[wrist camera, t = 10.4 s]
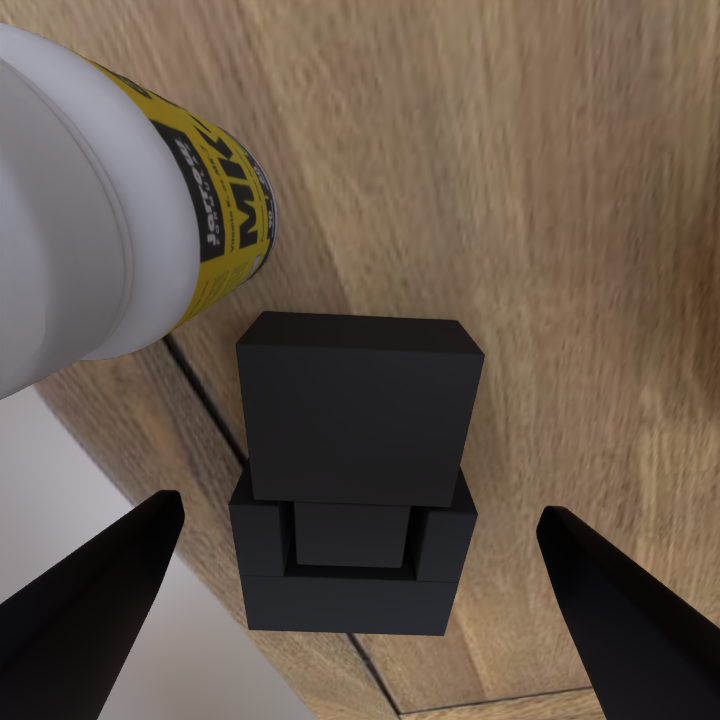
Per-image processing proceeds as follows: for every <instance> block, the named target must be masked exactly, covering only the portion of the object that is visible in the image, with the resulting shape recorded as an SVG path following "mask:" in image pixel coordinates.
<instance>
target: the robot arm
mask: <svg viewBox="0 0 720 720" xmlns="http://www.w3.org/2000/svg"><path fill="white" fill-rule="evenodd" d="M184 520H185V512H184V508H183V504H182V500H181V496H180V493H179V492H178V491H176V490H160V491H158V492H156V493H155V494H154V495H152V496H151V497H149V498H148V499H147V500H145V501H144V502H142V503H141V504H140V505H138V506H137V507H135V508H134V509H133V510H131V511H130V512H129V513H127V514H126V515H124V516H123V517H122V518H120V519H119V520H117V521H116V522H114V523H113V524H112V525H110V526H109V527H108V528H106V529H105V530H103V531H102V532H100V533H99V534H98V535H96V536H95V537H94V538H92V539H91V540H89V541H88V542H87V543H85V544H84V545H82V546H81V547H80V548H78V549H77V550H75V551H74V552H73V553H71V554H70V555H68V556H67V557H66V558H64V559H63V560H61V561H60V562H59V563H57V564H56V565H55V566H53V567H52V568H50V569H49V570H47V571H46V572H45V573H43V574H42V575H41V576H39V577H38V578H36V579H35V580H33V581H32V582H31V583H29V584H28V585H26V586H25V587H24V588H22V589H21V590H19V591H18V592H17V593H15V594H14V595H13V596H11V597H10V598H8V599H7V600H5V601H4V602H3V603H1V604H0V720H97V719H98V716H99V714H100V712H101V710H102V708H103V706H104V704H105V702H106V700H107V698H108V696H109V694H110V691H111V689H112V687H113V685H114V683H115V681H116V679H117V677H118V675H119V673H120V671H121V669H122V667H123V665H124V662H125V660H126V658H127V656H128V654H129V652H130V650H131V648H132V646H133V644H134V642H135V639H136V637H137V635H138V633H139V631H140V629H141V627H142V625H143V623H144V621H145V619H146V617H147V615H148V612H149V610H150V608H151V606H152V604H153V602H154V600H155V598H156V595H157V593H158V591H159V588H160V586H161V583H162V581H163V578H164V576H165V572H166V570H167V567H168V565H169V562H170V559H171V557H172V554H173V551H174V549H175V546H176V543H177V540H178V538H179V535H180V532H181V530H182V527H183V524H184ZM536 535H537V540H538V543H539V546H540V549H541V552H542V555H543V559H544V562H545V565H546V568H547V571H548V574H549V577H550V581H551V584H552V587H553V590H554V593H555V596H556V599H557V602H558V605H559V607H560V610H561V612H562V615H563V617H564V620H565V622H566V624H567V627H568V629H569V632H570V634H571V636H572V639H573V641H574V643H575V646H576V648H577V651H578V653H579V655H580V658H581V660H582V662H583V665H584V667H585V670H586V672H587V674H588V677H589V679H590V681H591V684H592V686H593V688H594V691H595V693H596V696H597V698H598V700H599V703H600V705H601V707H602V710H603V712H604V715H605V717H606V719H607V720H720V628H718V627H717V626H716V625H714V624H713V623H712V622H711V621H709V620H708V619H707V618H706V617H704V616H703V615H702V614H700V613H699V612H698V611H697V610H695V609H694V608H693V607H692V606H690V605H689V604H688V603H686V602H685V601H684V600H683V599H681V598H680V597H679V596H678V595H676V594H675V593H674V592H672V591H671V590H670V589H669V588H667V587H666V586H665V585H664V584H662V583H661V582H660V581H658V580H657V579H656V578H655V577H653V576H652V575H651V574H650V573H648V572H647V571H646V570H644V569H643V568H642V567H641V566H639V565H638V564H637V563H636V562H634V561H633V560H632V559H630V558H629V557H628V556H627V555H625V554H624V553H623V552H622V551H620V550H619V549H618V548H616V547H615V546H614V545H613V544H611V543H610V542H609V541H608V540H606V539H605V538H604V537H602V536H601V535H600V534H599V533H597V532H596V531H595V530H594V529H592V528H591V527H590V526H588V525H587V524H586V523H585V522H583V521H582V520H581V519H580V518H578V517H577V516H576V515H574V514H573V513H572V512H571V511H569V510H568V509H567V508H565V507H562V506H546V507H545V508H544V510H543V513H542V515H541V518H540V520H539V523H538V525H537V529H536Z"/></svg>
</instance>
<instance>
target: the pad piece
mask: <svg viewBox="0 0 720 720" xmlns="http://www.w3.org/2000/svg"><path fill="white" fill-rule="evenodd" d="M236 351H237V359H238V368H239V376H240V385H241V393H242V402H243V410H244V419H245V427H246V436H247V444H248V453H249V461H250V470H251V478H252V487H253V495H254V499H255V500H279V501H294V515H295V536H296V557H297V564H305V565H333V566H362V567H391V568H400V567H401V566H402V560H403V553H404V547H405V541H406V535H407V528H408V522H409V516H410V509H411V506H437V507H450V506H451V502H452V497H453V493H454V489H455V484H456V480H457V475H458V471H459V467H460V462H461V458H462V454H463V449H464V445H465V440H466V436H467V432H468V427H469V423H470V419H471V414H472V410H473V405H474V401H475V397H476V392H477V388H478V384H479V379H480V375H481V370H482V366H483V362H484V357H485V355H484V353H483V352H482V351H481V349H480V348H479V347H478V346H477V344H476V343H475V342H474V341H473V339H472V338H471V337H470V336H469V334H468V333H467V332H466V330H465V329H464V328H463V327H462V325H461V324H460V323H459V322H458V321H454V320H434V319H413V318H392V317H371V316H350V315H330V314H309V313H288V312H267V311H264V312H263V313H262V314H261V315H260V316H259V317H258V318H257V320H256V321H255V322H254V323H253V324H252V325H251V327H250V328H249V329H248V330H247V331H246V332H245V333H244V335H243V336H242V337H241V338H240V339H239V340H238V342H237V343H236Z"/></svg>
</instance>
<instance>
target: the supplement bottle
mask: <svg viewBox="0 0 720 720" xmlns="http://www.w3.org/2000/svg"><path fill="white" fill-rule="evenodd" d="M277 222H278V220H277V207H276V201H275V197H274V194H273V191H272V188H271V185H270V183H269V180H268V178H267V176H266V174H265V172H264V171H263V169H262V167H261V166H260V164H259V163H258V162H257V160H256V159H255V158H254V156H253V155H252V154H251V153H250V152H249V151H248V150H247V149H246V147H245V146H243V145H242V144H241V143H240V142H239V141H238V140H237V139H236V138H234V137H233V136H232V135H230V134H229V133H227V132H226V131H224V130H222V129H221V128H219V127H217V126H215V125H213V124H211V123H209V122H207V121H206V120H204V119H202V118H200V117H198V116H196V115H194V114H192V113H190V112H189V111H187V110H185V109H183V108H181V107H180V106H178V105H176V104H173V103H171V102H169V101H167V100H166V99H164V98H162V97H160V96H158V95H156V94H155V93H153V92H151V91H149V90H147V89H145V88H142V87H140V86H138V85H137V84H135V83H134V82H132V81H131V80H129V79H127V78H125V77H123V76H120V75H117V74H115V73H113V72H112V71H110V70H108V69H106V68H105V67H103V66H101V65H99V64H97V63H95V62H93V61H91V60H88V59H87V58H85V57H83V56H81V55H79V54H77V53H76V52H74V51H72V50H70V49H68V48H66V47H64V46H62V45H60V44H58V43H56V42H54V41H52V40H49V39H47V38H44V37H42V36H40V35H37V34H34V33H32V32H29V31H26V30H23V29H20V28H18V27H15V26H11V25H7V24H3V23H0V400H1V399H3V398H6V397H8V396H10V395H12V394H14V393H16V392H18V391H20V390H22V389H24V388H26V387H28V386H30V385H32V384H34V383H36V382H37V381H39V380H41V379H43V378H45V377H47V376H49V375H51V374H53V373H55V372H57V371H59V370H61V369H62V368H64V367H67V366H69V365H71V364H73V363H75V362H77V361H78V360H81V361H92V360H105V359H110V358H115V357H120V356H124V355H127V354H130V353H133V352H135V351H138V350H140V349H143V348H145V347H147V346H149V345H151V344H153V343H155V342H157V341H158V340H160V339H161V338H163V337H164V336H165V335H167V334H168V333H170V332H171V331H173V330H174V329H176V328H177V327H179V326H180V325H182V324H183V323H185V322H186V321H188V320H189V319H191V318H192V317H194V316H195V315H196V314H198V313H199V312H201V311H202V310H204V309H205V308H207V307H208V306H210V305H211V304H213V303H214V302H216V301H217V300H219V299H220V298H221V297H223V296H224V295H226V294H227V293H229V292H230V291H232V290H233V289H235V288H236V287H238V286H239V285H241V284H242V283H244V282H245V281H247V280H248V279H250V278H251V277H252V276H253V275H254V274H255V273H256V272H257V271H258V270H259V269H260V268H261V267H262V266H263V265H264V263H265V262H266V260H267V259H268V257H269V255H270V253H271V251H272V248H273V245H274V242H275V238H276V233H277Z"/></svg>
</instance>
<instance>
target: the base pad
mask: <svg viewBox="0 0 720 720" xmlns="http://www.w3.org/2000/svg"><path fill="white" fill-rule="evenodd" d="M228 506H229V512H230V519H231V525H232V531H233V537H234V543H235V549H236V555H237V561H238V568H239V574H240V579H241V585H242V591H243V598H244V604H245V610H246V616H247V622H248V628H249V630H266V631H299V632H331V633H364V634H396V635H428V636H444V634H445V630H446V627H447V623H448V620H449V616H450V612H451V609H452V605H453V602H454V598H455V595H456V591H457V588H458V584H459V580H460V576H461V572H462V569H463V565H464V562H465V558H466V555H467V551H468V548H469V544H470V541H471V537H472V533H473V530H474V526H475V523H476V519H477V516H478V513H477V510H476V508H475V505H474V502H473V500H472V497H471V494H470V491H469V489H468V486H467V483H466V481H465V478H464V475H463V472H462V470H461V467H459V471H458V475H457V480H456V484H455V489H454V493H453V497H452V502H451V506H450V507H437V506H411V509H410V516H409V522H408V528H407V535H406V541H405V547H404V553H403V560H402V566H401V567H400V568H391V567H362V566H333V565H305V564H297V557H296V536H295V515H294V501H279V500H255V499H254V495H253V487H252V478H251V470H250V461H249V458H248V460H247V463H246V465H245V467H244V470H243V472H242V474H241V476H240V479H239V481H238V483H237V486H236V488H235V490H234V493H233V495H232V497H231V500H230V502H229V504H228Z"/></svg>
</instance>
